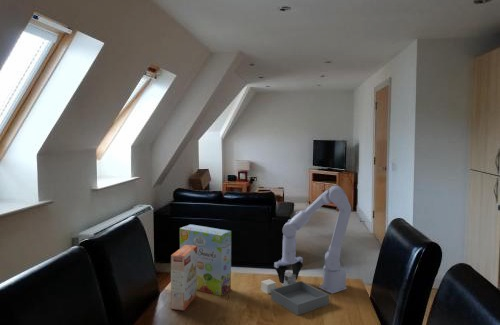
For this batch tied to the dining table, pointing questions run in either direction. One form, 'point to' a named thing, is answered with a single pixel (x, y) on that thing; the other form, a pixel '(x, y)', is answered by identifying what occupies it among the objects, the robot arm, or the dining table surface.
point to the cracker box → (183, 277)
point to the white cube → (267, 286)
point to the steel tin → (289, 278)
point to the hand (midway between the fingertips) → (288, 280)
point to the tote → (299, 297)
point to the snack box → (210, 257)
